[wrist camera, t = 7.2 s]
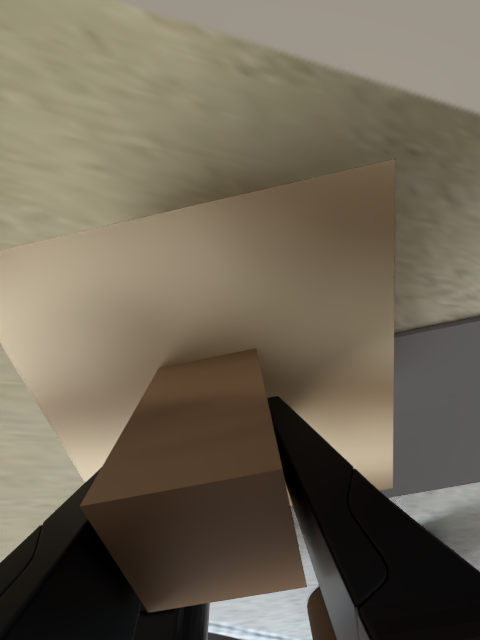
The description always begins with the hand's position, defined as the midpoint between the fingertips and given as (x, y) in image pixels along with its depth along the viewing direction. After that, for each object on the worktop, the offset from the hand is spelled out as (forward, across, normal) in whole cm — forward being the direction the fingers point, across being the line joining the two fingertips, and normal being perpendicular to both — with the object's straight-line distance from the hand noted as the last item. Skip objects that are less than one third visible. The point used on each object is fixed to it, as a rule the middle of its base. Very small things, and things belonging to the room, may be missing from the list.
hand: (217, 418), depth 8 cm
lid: (+2, 0, 0) cm, 2 cm away
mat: (+8, -14, +10) cm, 19 cm away
